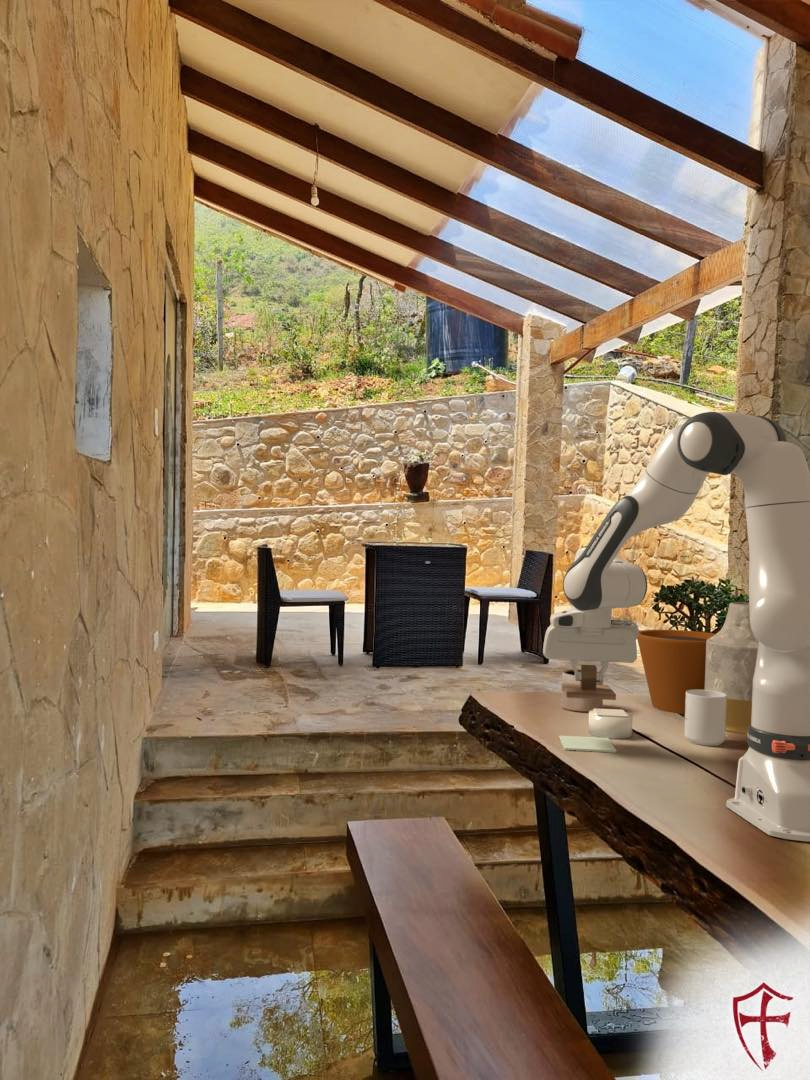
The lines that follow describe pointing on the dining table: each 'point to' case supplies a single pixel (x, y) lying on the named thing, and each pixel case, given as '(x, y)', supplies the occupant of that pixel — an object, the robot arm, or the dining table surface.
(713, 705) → the mug
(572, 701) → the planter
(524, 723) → the dining table surface
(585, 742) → the mat
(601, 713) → the disc with square top
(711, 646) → the vase
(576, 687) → the lid
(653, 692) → the flower pot
